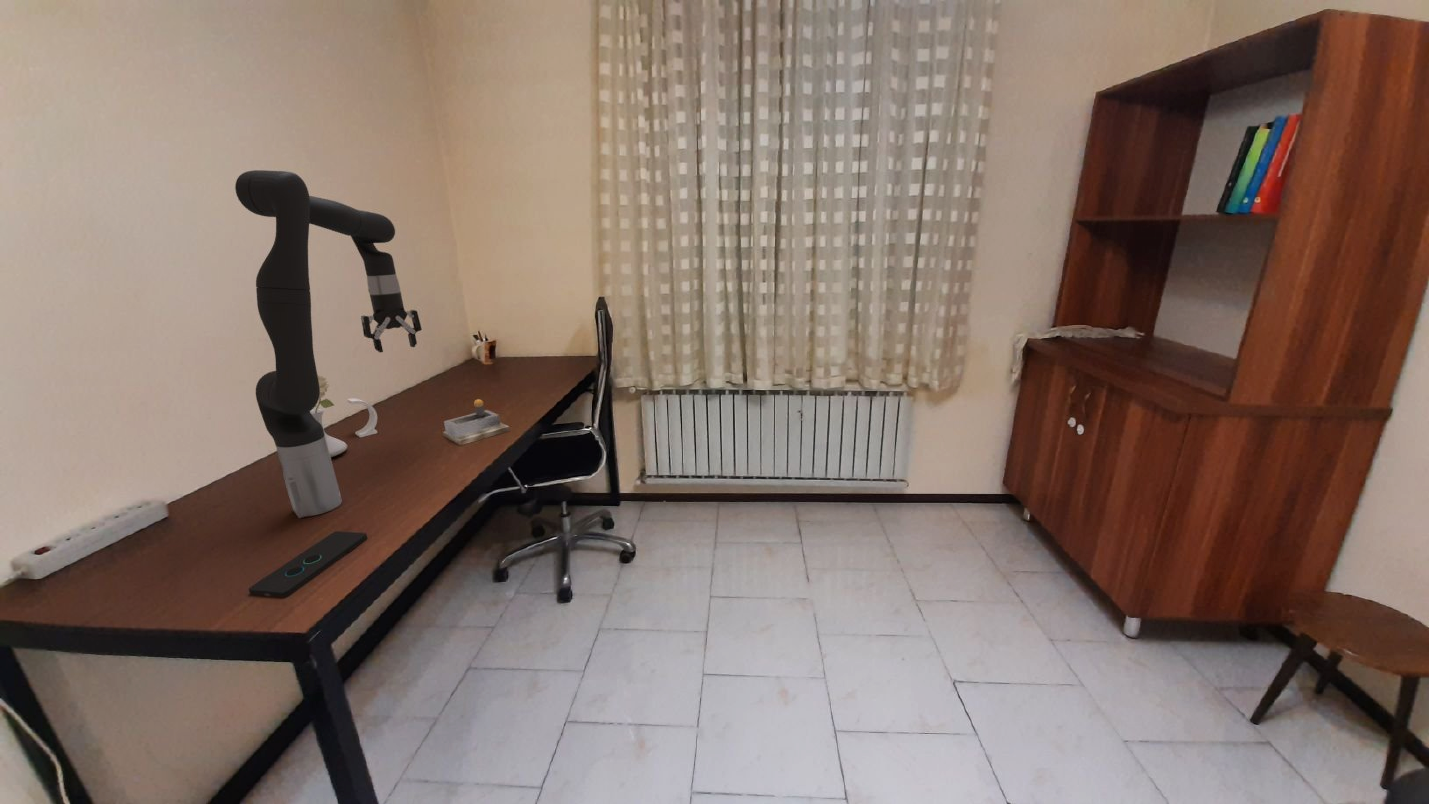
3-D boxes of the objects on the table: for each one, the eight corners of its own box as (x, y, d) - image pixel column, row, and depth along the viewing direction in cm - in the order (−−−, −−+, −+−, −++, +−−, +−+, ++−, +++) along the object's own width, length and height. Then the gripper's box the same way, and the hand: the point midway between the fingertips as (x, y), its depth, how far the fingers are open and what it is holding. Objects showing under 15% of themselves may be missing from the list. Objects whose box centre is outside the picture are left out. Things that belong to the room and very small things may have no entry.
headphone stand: (355, 434, 179) (346, 399, 175) (376, 429, 183) (368, 394, 180) (360, 437, 176) (351, 401, 172) (381, 432, 180) (373, 397, 177)
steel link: (456, 439, 168) (454, 426, 167) (446, 433, 173) (443, 421, 172) (500, 426, 177) (498, 414, 176) (489, 421, 183) (487, 409, 182)
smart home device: (245, 588, 100) (334, 530, 119) (248, 596, 100) (336, 537, 119) (284, 592, 99) (368, 532, 117) (287, 600, 99) (370, 539, 118)
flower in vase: (292, 462, 158) (268, 378, 151) (327, 447, 169) (306, 367, 161) (328, 465, 155) (306, 379, 148) (362, 449, 166) (342, 369, 158)
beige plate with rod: (460, 445, 167) (453, 411, 164) (444, 436, 175) (437, 403, 171) (509, 430, 178) (504, 398, 175) (492, 422, 186) (487, 391, 182)
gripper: (360, 295, 145) (373, 355, 150) (417, 289, 155) (428, 346, 160) (351, 293, 150) (365, 352, 155) (407, 288, 160) (418, 343, 165)
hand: (397, 349), depth 157 cm, fingers open, 8 cm apart
